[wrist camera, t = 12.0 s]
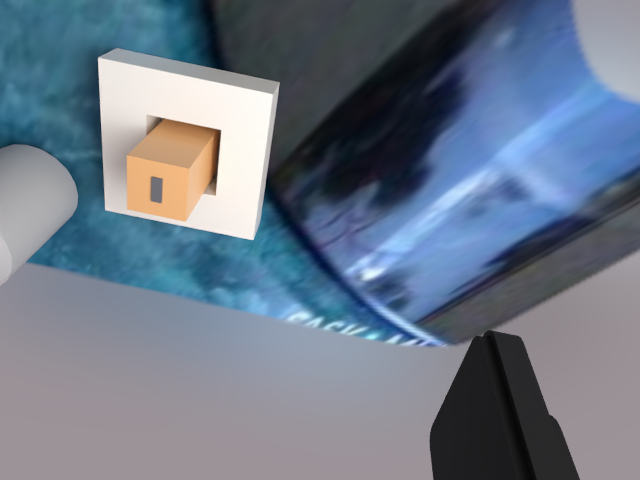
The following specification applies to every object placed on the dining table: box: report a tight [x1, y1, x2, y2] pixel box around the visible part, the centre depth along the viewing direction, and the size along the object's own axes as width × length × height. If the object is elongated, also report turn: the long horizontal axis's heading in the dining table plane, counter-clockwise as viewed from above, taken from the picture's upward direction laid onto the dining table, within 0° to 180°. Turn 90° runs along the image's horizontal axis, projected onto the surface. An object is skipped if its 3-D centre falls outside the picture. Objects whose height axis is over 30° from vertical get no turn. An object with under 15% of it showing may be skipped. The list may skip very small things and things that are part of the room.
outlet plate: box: [98, 48, 280, 240], centre depth 39 cm, size 12×12×3 cm
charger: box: [127, 118, 220, 222], centre depth 37 cm, size 4×4×8 cm
